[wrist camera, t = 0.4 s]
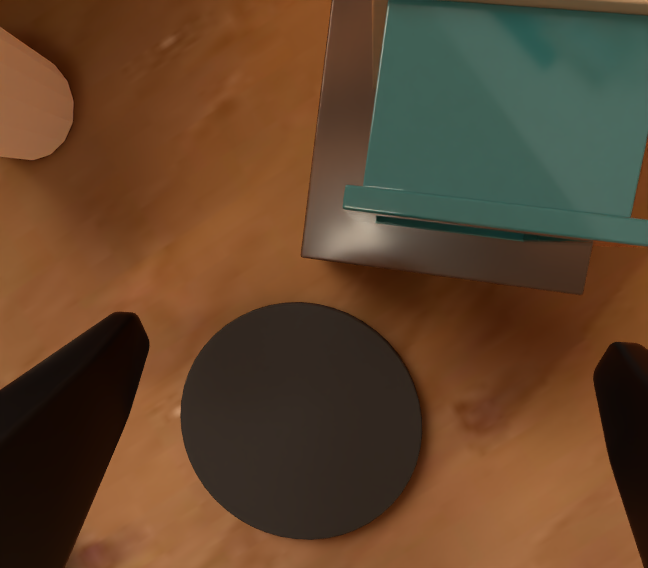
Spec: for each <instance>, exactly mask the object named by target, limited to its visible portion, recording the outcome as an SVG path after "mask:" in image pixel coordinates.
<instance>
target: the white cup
mask: <svg viewBox="0 0 648 568" xmlns="http://www.w3.org/2000/svg"><path fill="white" fill-rule="evenodd" d="M73 107H74V101H73V97H72V94H71V91H70V88H69V84H68V81H67V80H66V79H65V77H64V76H63V75H62V73H61V72H60V71H59V70H58V68H57V67H56V66H55V65H54V64H53V63H52V62H50V61H49V60H47V59H46V58H44V57H43V56H41V55H40V54H39V53H37V52H36V51H34V50H33V49H31V48H30V47H28V46H27V45H26V44H24V43H23V42H21V41H20V40H18V39H17V38H16V37H14V36H13V35H11V34H10V33H8V32H7V31H5V30H4V29H3V28H1V27H0V157H8V158H16V159H26V160H36V159H39V158H42V157H45V156H47V155H50V154H52V153H53V152H54V151H55V150H56V149H57V148H58V147H59V146H60V145H61V144H62V143H63V142H64V141H65V139H66V137H67V134H68V132H69V130H70V128H71V125H72V123H73Z"/></svg>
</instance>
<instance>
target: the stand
mask: <svg viewBox="0 0 648 568" xmlns="http://www.w3.org/2000/svg"><path fill="white" fill-rule="evenodd" d="M374 98H375V90H373V72H372V0H332V3H331V11H330V20H329V28H328V36H327V44H326V52H325V61H324V69H323V77H322V85H321V93H320V102H319V110H318V118H317V126H316V134H315V142H314V151H313V159H312V167H311V175H310V183H309V192H308V200H307V208H306V216H305V224H304V233H303V241H302V249H301V257H303V258H311V259H318V260H326V261H333V262H340V263H348V264H355V265H362V266H370V267H377V268H384V269H392V270H399V271H407V272H414V273H421V274H429V275H436V276H443V277H451V278H458V279H465V280H473V281H480V282H488V283H495V284H502V285H510V286H517V287H524V288H532V289H539V290H546V291H554V292H561V293H568V294H576V295H582V294H583V291H584V286H585V281H586V276H587V271H588V266H589V261H590V256H591V251H592V246H580V245H545V244H544V245H543V244H530V243H522V242H514V241H506V240H498V239H490V238H482V237H475V236H467V235H459V234H451V233H443V232H435V231H427V230H419V229H411V228H403V227H395V226H387V225H379V224H371V223H363V222H356V221H354V219H353V218H351V217H350V216H349V215H348V214H347V213H346V212H345V210H344V209H343V208H342V203H343V195H344V188H345V186H346V185H348V184H349V185H358V186H363V179H364V171H365V164H366V157H367V149H368V142H369V134H370V127H371V120H372V112H373V105H374Z"/></svg>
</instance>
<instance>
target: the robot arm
mask: <svg viewBox="0 0 648 568" xmlns="http://www.w3.org/2000/svg"><path fill="white" fill-rule="evenodd" d="M148 351H149V339H148V336H147V334H146V332H145V330H144V328H143V325H142V323H141V321H140V319H139V317H138V315H136V314H135V313H132V312H114V313H112V314H110V315H109V316H107V317H106V318H105V319H103V320H102V321H100V322H99V323H97V324H96V325H94V326H93V327H91V328H90V329H89V330H87V331H86V332H84V333H83V334H81V335H80V336H78V337H77V338H75V339H74V340H72V341H71V342H70V343H68V344H67V345H65V346H64V347H62V348H61V349H59V350H58V351H56V352H55V353H54V354H52V355H51V356H49V357H48V358H46V359H45V360H43V361H42V362H40V363H39V364H37V365H36V366H35V367H33V368H32V369H30V370H29V371H27V372H26V373H24V374H23V375H21V376H20V377H19V378H17V379H16V380H14V381H13V382H11V383H10V384H8V385H7V386H5V387H4V388H2V389H1V390H0V568H65V566H66V563H67V561H68V559H69V556H70V554H71V552H72V549H73V547H74V544H75V542H76V540H77V537H78V535H79V533H80V530H81V528H82V526H83V523H84V521H85V519H86V516H87V514H88V512H89V509H90V507H91V504H92V502H93V500H94V497H95V495H96V493H97V490H98V488H99V486H100V483H101V481H102V479H103V476H104V474H105V472H106V469H107V467H108V465H109V462H110V460H111V457H112V455H113V453H114V450H115V448H116V446H117V443H118V441H119V439H120V436H121V434H122V432H123V429H124V427H125V424H126V422H127V419H128V417H129V414H130V411H131V408H132V404H133V401H134V398H135V394H136V391H137V388H138V385H139V381H140V378H141V375H142V371H143V368H144V365H145V361H146V358H147V355H148ZM593 382H594V387H595V392H596V397H597V402H598V407H599V412H600V417H601V422H602V427H603V432H604V437H605V442H606V447H607V452H608V456H609V460H610V464H611V467H612V470H613V474H614V477H615V480H616V483H617V486H618V489H619V492H620V495H621V498H622V502H623V505H624V508H625V511H626V514H627V517H628V520H629V523H630V526H631V529H632V532H633V535H634V539H635V542H636V545H637V548H638V551H639V554H640V557H641V560H642V563H643V566H644V568H648V350H647V349H646V348H645V347H643V346H642V345H640V344H637V343H628V342H614V343H612V344H610V345H609V347H608V348H607V350H606V352H605V353H604V355H603V357H602V358H601V360H600V361H599V363H598V365H597V366H596V368H595V370H594V375H593Z"/></svg>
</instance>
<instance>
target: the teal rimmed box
mask: <svg viewBox="0 0 648 568" xmlns="http://www.w3.org/2000/svg"><path fill="white" fill-rule="evenodd" d="M372 72H373V90H375V98H374V105H373V112H372V120H371V127H370V134H369V142H368V149H367V157H366V164H365V171H364V179H363V186H358V185H349V184H348V185H346V186H345V188H344V195H343V203H342V208H343V209H344V210H345V212H346V213H347V214H348V215H349V216H350V217H351V218H353V219H354V221H356V222H363V223H371V224H379V225H387V226H395V227H403V228H411V229H419V230H427V231H435V232H443V233H451V234H459V235H467V236H475V237H482V238H490V239H498V240H506V241H514V242H522V243H530V244H543V245H544V244H545V245H580V246H615V247H648V219H639V218H630V217H631V214H632V209H633V204H634V200H635V195H636V190H637V185H638V180H639V176H640V171H641V166H642V161H643V156H644V152H645V147H646V142H647V137H648V0H372Z"/></svg>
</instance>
